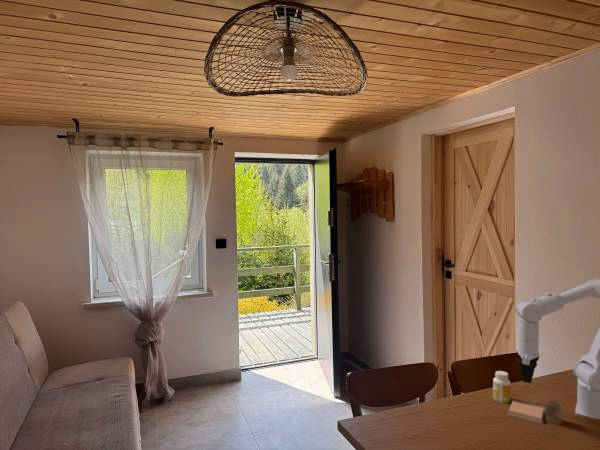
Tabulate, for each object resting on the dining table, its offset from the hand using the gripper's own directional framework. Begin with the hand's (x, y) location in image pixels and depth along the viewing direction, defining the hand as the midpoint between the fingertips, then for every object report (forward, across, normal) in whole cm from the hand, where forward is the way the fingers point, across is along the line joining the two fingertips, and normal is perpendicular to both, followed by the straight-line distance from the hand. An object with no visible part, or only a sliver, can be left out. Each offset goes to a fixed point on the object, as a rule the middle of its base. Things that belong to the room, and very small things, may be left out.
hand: (528, 379), depth 134 cm
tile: (+9, 0, 0) cm, 9 cm away
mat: (+10, +2, 0) cm, 11 cm away
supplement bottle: (+11, -3, -8) cm, 14 cm away
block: (+10, +4, +8) cm, 14 cm away
